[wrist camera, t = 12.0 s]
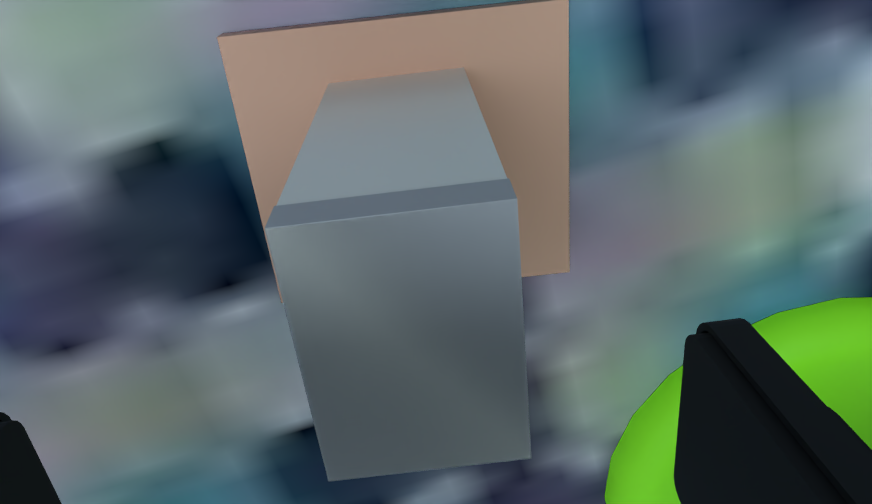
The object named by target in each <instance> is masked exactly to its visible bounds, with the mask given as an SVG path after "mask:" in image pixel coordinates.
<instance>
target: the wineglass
mask: <svg viewBox="0 0 872 504" xmlns="http://www.w3.org/2000/svg"><path fill="white" fill-rule="evenodd" d="M752 326H753V327H754V328H755V330H756V331H757V332H758V333H759V334H760V335H761V336H762V337H763V338H764V339H765V340H766V341H767V342H768V344H769V345H770V346H771V347H772V348H773V349H774V350H775V351H776V352H777V353H778V354H779V355H780V356H781V357H782V359H783V360H784V361H785V362H786V363H787V364H788V365H789V366H790V367H791V368H792V369H793V370H794V371H795V373H796V374H797V375H798V376H799V377H800V378H801V379H802V380H803V381H804V382H805V383H806V384H807V385H808V386H809V388H810V389H811V390H812V391H813V392H814V393H815V394H816V395H817V396H818V397H819V398H820V399H821V400H822V402H823V403H824V404H825V405H826V406H827V407H830V408H831V409H832V410H833V411H835V412H836V413H837V414H838V415H839V416H840V417H841V418H842V419H843V420H844V421H845V422H846V423H847V424H848V425H849V426H850V427H851V428H852V429H853V430H854V431H855V433H856V434H857V435H858V436H859V437H860V438H861V439H862V440H863V441H864V442H865V443H866V444H867V445H868V446H869V447H870V448H871V450H872V297H865V298H838V299H834V300H829V301H825V302H821V303H817V304H813V305H808V306H804V307H800V308H796V309H791V310H787V311H783V312H779V313H776V314H774V315H771V316H769V317H767V318H765V319H763V320H760V321H758V322H756V323H754V324H752ZM682 372H683V365H682V366H681V367H680V368H678V369H677V370H675V371H674V372H673V373H671V374H670V375H669V376H668V377H667V378H666V379H665V380H664V381H663V382H662V384H661V385H660V386H659V387H658V388H657V389H656V390H655V391H654V392H653V394H652V395H651V396H650V397H649V398H648V399H647V400H646V401H645V402H644V404H643V405H642V406H641V407H640V408H639V409H638V410H637V411H636V412H635V413H634V415H633V416H632V418H631V420H630V422H629V424H628V426H627V427H626V429H625V431H624V433H623V435H622V437H621V439H620V441H619V443H618V445H617V447H616V449H615V451H614V452H613V454H612V456H611V461H610V467H609V473H608V478H607V484H606V490H605V496H604V497H605V502H606V504H681V502H680V500H679V498H678V495H677V492H676V488H675V484H674V464H675V452H676V441H677V429H678V418H679V407H680V395H681V384H682Z"/></svg>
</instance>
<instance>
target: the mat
mask: <svg viewBox="0 0 872 504" xmlns="http://www.w3.org/2000/svg"><path fill="white" fill-rule="evenodd" d="M217 39H218V43H219V48H220V52H221V56H222V60H223V64H224V68H225V72H226V76H227V81H228V85H229V89H230V93H231V97H232V101H233V105H234V109H235V114H236V118H237V122H238V126H239V130H240V134H241V138H242V142H243V147H244V151H245V155H246V159H247V163H248V167H249V171H250V175H251V180H252V184H253V188H254V192H255V196H256V200H257V204H258V208H259V213H260V217H261V221H262V225H263V229H264V233H265V237H266V241H267V246H268V250H269V254H270V258H271V262H272V266H273V270H274V274H275V279H276V283H277V287H278V291H279V295H280V299H281V303H283V299H282V296H281V292H280V288H279V284H278V280H277V276H276V272H275V268H274V264H273V260H272V256H271V252H270V248H269V244H268V240H267V236H266V232H265V226H266V224H267V221H268V219H269V217H270V214H271V212H272V210H273V207H274V206H276V205H277V203H278V200H279V198H280V196H281V193H282V191H283V189H284V186H285V184H286V182H287V179H288V177H289V175H290V172H291V170H292V168H293V165H294V163H295V161H296V158H297V156H298V154H299V151H300V149H301V147H302V144H303V142H304V140H305V137H306V135H307V133H308V130H309V128H310V126H311V123H312V121H313V119H314V116H315V114H316V112H317V109H318V107H319V105H320V102H321V100H322V98H323V95H324V93H325V91H326V88H327V86H328V83H336V82H345V81H353V80H361V79H370V78H378V77H386V76H395V75H403V74H412V73H420V72H428V71H437V70H445V69H454V68H462V67H464V69H465V72H466V74H467V77H468V80H469V82H470V85H471V87H472V90H473V92H474V95H475V97H476V100H477V102H478V105H479V108H480V110H481V113H482V115H483V118H484V120H485V123H486V125H487V128H488V130H489V133H490V136H491V138H492V141H493V143H494V146H495V148H496V151H497V153H498V156H499V158H500V161H501V164H502V166H503V169H504V171H505V174H506V176H507V179H508V178H509V179H510V182H511V184H512V187H513V189H514V192H515V194H516V197H517V204H518V223H519V241H520V259H521V277H529V276H538V275H547V274H557V273H566V272H570V257H569V0H525V1H516V2H506V3H497V4H488V5H479V6H470V7H460V8H451V9H442V10H433V11H424V12H414V13H405V14H396V15H387V16H378V17H369V18H359V19H350V20H341V21H332V22H323V23H313V24H304V25H295V26H286V27H277V28H267V29H258V30H249V31H240V32H231V33H223V34H221V35H220V36H218V37H217Z"/></svg>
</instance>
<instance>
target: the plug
mask: <svg viewBox="0 0 872 504" xmlns="http://www.w3.org/2000/svg"><path fill="white" fill-rule="evenodd" d="M265 232H266V236H267V240H268V244H269V248H270V252H271V256H272V260H273V264H274V268H275V272H276V276H277V280H278V284H279V288H280V292H281V296H282V299H283V303H284V307H285V311H286V315H287V319H288V323H289V327H290V331H291V335H292V339H293V343H294V347H295V351H296V355H297V359H298V363H299V367H300V370H301V374H302V378H303V382H304V386H305V390H306V394H307V398H308V402H309V406H310V410H311V414H312V418H313V422H314V426H315V430H316V434H317V437H318V441H319V445H320V449H321V453H322V457H323V461H324V465H325V469H326V473H327V477H328V481H337V480H345V479H354V478H363V477H372V476H381V475H389V474H398V473H407V472H416V471H425V470H433V469H442V468H451V467H460V466H469V465H477V464H486V463H495V462H504V461H513V460H521V459H530V458H531V443H530V425H529V407H528V388H527V370H526V351H525V333H524V315H523V296H522V278H521V259H520V241H519V223H518V204H517V197H516V194H515V192H514V189H513V187H512V184H511V182H510V179H509V178H508V179H507V176H506V174H505V171H504V169H503V166H502V164H501V161H500V158H499V156H498V153H497V151H496V148H495V146H494V143H493V141H492V138H491V136H490V133H489V130H488V128H487V125H486V123H485V120H484V118H483V115H482V113H481V110H480V108H479V105H478V102H477V100H476V97H475V95H474V92H473V90H472V87H471V85H470V82H469V80H468V77H467V74H466V72H465V69H464V67H462V68H454V69H445V70H437V71H428V72H420V73H412V74H403V75H395V76H386V77H378V78H370V79H361V80H353V81H345V82H336V83H328V86H327V88H326V91H325V93H324V95H323V98H322V100H321V102H320V105H319V107H318V109H317V112H316V114H315V116H314V119H313V121H312V123H311V126H310V128H309V130H308V133H307V135H306V137H305V140H304V142H303V144H302V147H301V149H300V151H299V154H298V156H297V158H296V161H295V163H294V165H293V168H292V170H291V172H290V175H289V177H288V179H287V182H286V184H285V186H284V189H283V191H282V193H281V196H280V198H279V200H278V203H277V205H276V206H274V207H273V210H272V212H271V214H270V217H269V219H268V221H267V224H266V226H265Z"/></svg>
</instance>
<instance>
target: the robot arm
mask: <svg viewBox="0 0 872 504" xmlns="http://www.w3.org/2000/svg"><path fill="white" fill-rule="evenodd" d="M674 484H675V488H676V492H677V495H678V498H679V500H680V502H681V504H872V450H871V448H870V447H869V446H868V445H867V444H866V443H865V442H864V441H863V440H862V439H861V438H860V437H859V436H858V435H857V434H856V433H855V431H854V430H853V429H852V428H851V427H850V426H849V425H848V424H847V423H846V422H845V421H844V420H843V419H842V418H841V417H840V416H839V415H838V414H837V413H836V412H835V411H833V410H832V409H831V408H830V407H827V406H826V405H825V404H824V403H823V402H822V400H821V399H820V398H819V397H818V396H817V395H816V394H815V393H814V392H813V391H812V390H811V389H810V388H809V386H808V385H807V384H806V383H805V382H804V381H803V380H802V379H801V378H800V377H799V376H798V375H797V374H796V373H795V371H794V370H793V369H792V368H791V367H790V366H789V365H788V364H787V363H786V362H785V361H784V360H783V359H782V357H781V356H780V355H779V354H778V353H777V352H776V351H775V350H774V349H773V348H772V347H771V346H770V345H769V344H768V342H767V341H766V340H765V339H764V338H763V337H762V336H761V335H760V334H759V333H758V332H757V331H756V330H755V328H754V327H753V326H752V325H751V324H750V323H749V322H747V321H746V320H745V319H741V318H738V319H730V320H722V321H714V322H706V323H702V324H700V325H699V327H698V328H697V332H696V334H693V335H689V336H688V337H687V338H686V342H685V349H684V361H683V372H682V384H681V395H680V407H679V418H678V429H677V441H676V452H675V464H674ZM0 504H61V502H60V500H59V498H58V496H57V493H56V491H55V489H54V487H53V485H52V483H51V481H50V479H49V477H48V475H47V473H46V471H45V469H44V467H43V465H42V463H41V461H40V459H39V457H38V455H37V453H36V451H35V449H34V447H33V445H32V443H31V441H30V439H29V437H28V435H27V432H26V430H25V428H24V427H23V426H22V424H21V423H19V422H18V421H12V420H11V419H10V417H9V416H8V415H6V414H5V413H3V412H0Z"/></svg>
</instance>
